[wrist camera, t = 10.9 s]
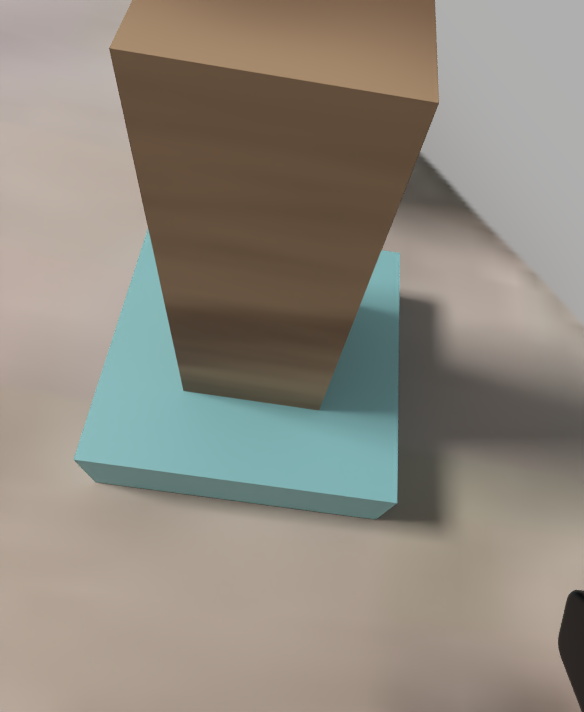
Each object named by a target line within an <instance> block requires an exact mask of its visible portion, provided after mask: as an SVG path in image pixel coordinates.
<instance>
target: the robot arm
mask: <svg viewBox="0 0 584 712" xmlns="http://www.w3.org/2000/svg"><path fill="white" fill-rule="evenodd" d="M558 646H559V652H560V656H561V659H562V661H563V664H564V667H565V669H566V672H567V674H568V677H569V680H570V682H571V685H572V687H573V690H574V693H575V695H576V698H577V700H578V703H579V706H580V708H581V711H582V712H584V591H582V590H574V591H572V592H571V593H570V594H569V596H568V598H567V601H566V606H565V610H564V614H563V619H562V623H561V627H560V632H559V637H558Z"/></svg>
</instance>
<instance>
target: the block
mask: <svg viewBox="0 0 584 712" xmlns="http://www.w3.org/2000/svg"><path fill="white" fill-rule="evenodd" d="M109 49H110V54H111V59H112V63H113V68H114V72H115V77H116V82H117V86H118V91H119V96H120V100H121V105H122V109H123V114H124V119H125V123H126V128H127V133H128V137H129V142H130V146H131V151H132V156H133V160H134V165H135V170H136V174H137V179H138V183H139V188H140V193H141V197H142V202H143V206H144V211H145V216H146V220H147V225H148V230H149V234H150V239H151V243H152V248H153V253H154V257H155V262H156V267H157V271H158V276H159V280H160V285H161V290H162V294H163V299H164V304H165V308H166V313H167V317H168V322H169V327H170V331H171V336H172V341H173V345H174V350H175V354H176V359H177V364H178V368H179V373H180V378H181V382H182V387H183V391H187V392H194V393H201V394H208V395H215V396H222V397H229V398H236V399H243V400H250V401H257V402H264V403H271V404H278V405H285V406H291V407H298V408H305V409H312V410H319V409H320V407H321V404H322V402H323V399H324V396H325V394H326V391H327V389H328V386H329V384H330V381H331V379H332V376H333V373H334V371H335V368H336V366H337V363H338V361H339V358H340V355H341V353H342V350H343V348H344V345H345V343H346V340H347V337H348V335H349V332H350V330H351V327H352V325H353V322H354V320H355V317H356V314H357V312H358V309H359V307H360V304H361V302H362V299H363V296H364V294H365V291H366V289H367V286H368V284H369V281H370V278H371V276H372V273H373V271H374V268H375V266H376V263H377V260H378V258H379V255H380V253H381V250H382V248H383V245H384V243H385V240H386V237H387V235H388V232H389V230H390V227H391V225H392V222H393V219H394V217H395V214H396V212H397V209H398V207H399V204H400V201H401V199H402V196H403V194H404V191H405V189H406V186H407V184H408V181H409V178H410V176H411V173H412V171H413V168H414V166H415V163H416V160H417V158H418V155H419V153H420V150H421V148H422V145H423V142H424V140H425V137H426V134H427V132H428V130H429V127H430V124H431V122H432V119H433V117H434V114H435V112H436V109H437V106H438V104H439V93H438V67H437V43H436V17H435V0H132V2H131V4H130V6H129V8H128V10H127V13H126V15H125V17H124V19H123V21H122V23H121V25H120V27H119V29H118V31H117V33H116V35H115V37H114V39H113V41H112V44H111V46H110V48H109Z"/></svg>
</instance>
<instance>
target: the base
mask: <svg viewBox="0 0 584 712" xmlns="http://www.w3.org/2000/svg"><path fill="white" fill-rule="evenodd" d="M399 287H400V253H396V252H390V251H383V250H381V253H380V255H379V258H378V260H377V263H376V266H375V268H374V271H373V273H372V276H371V278H370V281H369V284H368V286H367V289H366V291H365V294H364V296H363V299H362V302H361V304H360V307H359V309H358V312H357V314H356V317H355V320H354V322H353V325H352V327H351V330H350V332H349V335H348V337H347V340H346V343H345V345H344V348H343V350H342V353H341V355H340V358H339V361H338V363H337V366H336V368H335V371H334V373H333V376H332V379H331V381H330V384H329V386H328V389H327V391H326V394H325V396H324V399H323V402H322V404H321V407H320V409H319V410H312V409H305V408H298V407H291V406H285V405H278V404H271V403H264V402H257V401H250V400H243V399H236V398H229V397H222V396H215V395H208V394H201V393H194V392H187V391H183V387H182V382H181V378H180V373H179V368H178V364H177V359H176V354H175V350H174V345H173V341H172V336H171V331H170V327H169V322H168V317H167V313H166V308H165V304H164V299H163V294H162V290H161V285H160V280H159V276H158V271H157V267H156V262H155V257H154V253H153V248H152V243H151V239H150V234H149V230H147V234H146V237H145V240H144V243H143V246H142V249H141V252H140V255H139V258H138V261H137V265H136V268H135V271H134V274H133V277H132V280H131V283H130V286H129V289H128V292H127V295H126V299H125V302H124V305H123V308H122V311H121V314H120V317H119V320H118V323H117V326H116V330H115V333H114V336H113V339H112V342H111V345H110V348H109V351H108V354H107V357H106V361H105V364H104V367H103V370H102V373H101V376H100V379H99V382H98V385H97V388H96V392H95V395H94V398H93V401H92V404H91V407H90V410H89V413H88V416H87V419H86V423H85V426H84V429H83V432H82V435H81V438H80V441H79V444H78V447H77V450H76V453H75V457H74V461H75V462H76V463H77V464H78V465H79V466H80V467H81V468H82V469H83V470H84V471H85V472H86V473H87V474H88V475H89V476H90V477H91V478H92V479H93V480H94V481H95V482H99V483H106V484H114V485H121V486H129V487H136V488H143V489H151V490H158V491H166V492H173V493H181V494H188V495H196V496H203V497H211V498H218V499H226V500H233V501H241V502H248V503H256V504H263V505H271V506H278V507H286V508H293V509H301V510H308V511H316V512H323V513H331V514H338V515H346V516H353V517H361V518H368V519H377V518H379V517H380V516H381V515H382V514H384V513H385V512H386V511H388V510H389V509H390V508H392V507H393V506H394V505H396V504H397V479H398V383H399Z"/></svg>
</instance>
